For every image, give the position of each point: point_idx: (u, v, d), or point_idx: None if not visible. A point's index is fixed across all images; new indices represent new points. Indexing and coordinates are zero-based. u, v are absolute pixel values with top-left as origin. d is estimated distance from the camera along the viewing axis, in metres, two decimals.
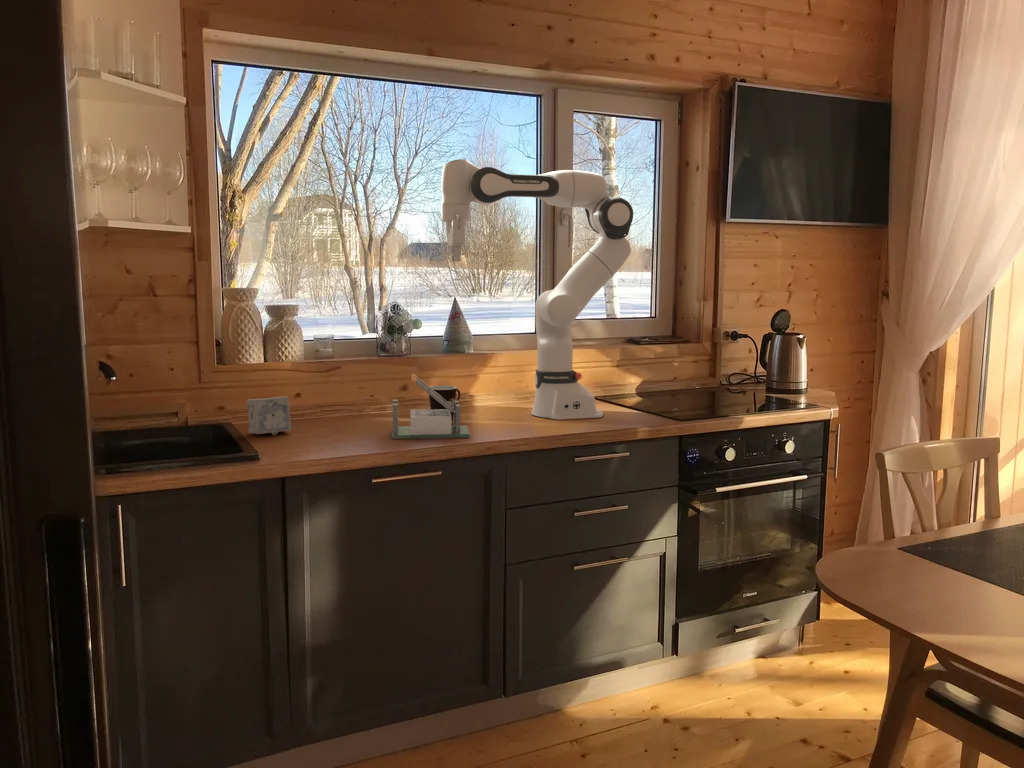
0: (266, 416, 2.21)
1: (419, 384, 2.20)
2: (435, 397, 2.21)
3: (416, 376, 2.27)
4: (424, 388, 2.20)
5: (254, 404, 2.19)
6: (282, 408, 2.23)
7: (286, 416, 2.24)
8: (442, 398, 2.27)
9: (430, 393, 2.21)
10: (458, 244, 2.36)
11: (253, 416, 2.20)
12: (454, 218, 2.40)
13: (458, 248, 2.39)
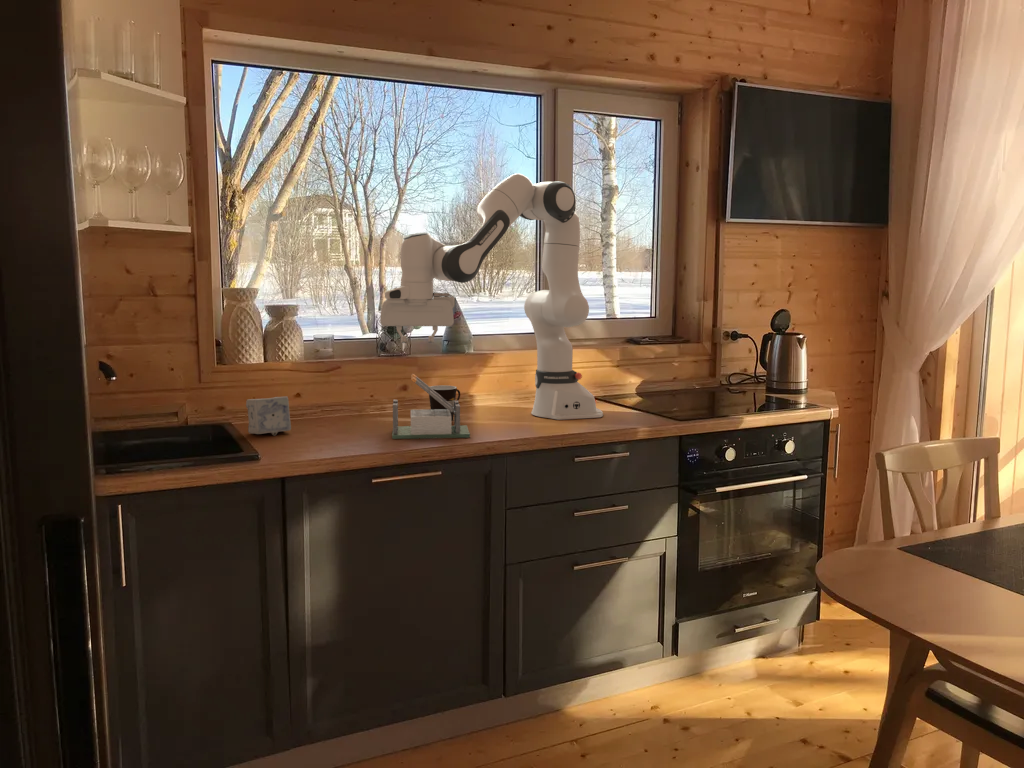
0: (266, 416, 2.21)
1: (419, 384, 2.20)
2: (435, 397, 2.21)
3: (416, 376, 2.27)
4: (424, 388, 2.20)
5: (254, 404, 2.19)
6: (282, 408, 2.23)
7: (286, 416, 2.24)
8: (442, 398, 2.27)
9: (430, 393, 2.21)
10: None
11: (253, 416, 2.20)
12: (432, 297, 2.23)
13: None
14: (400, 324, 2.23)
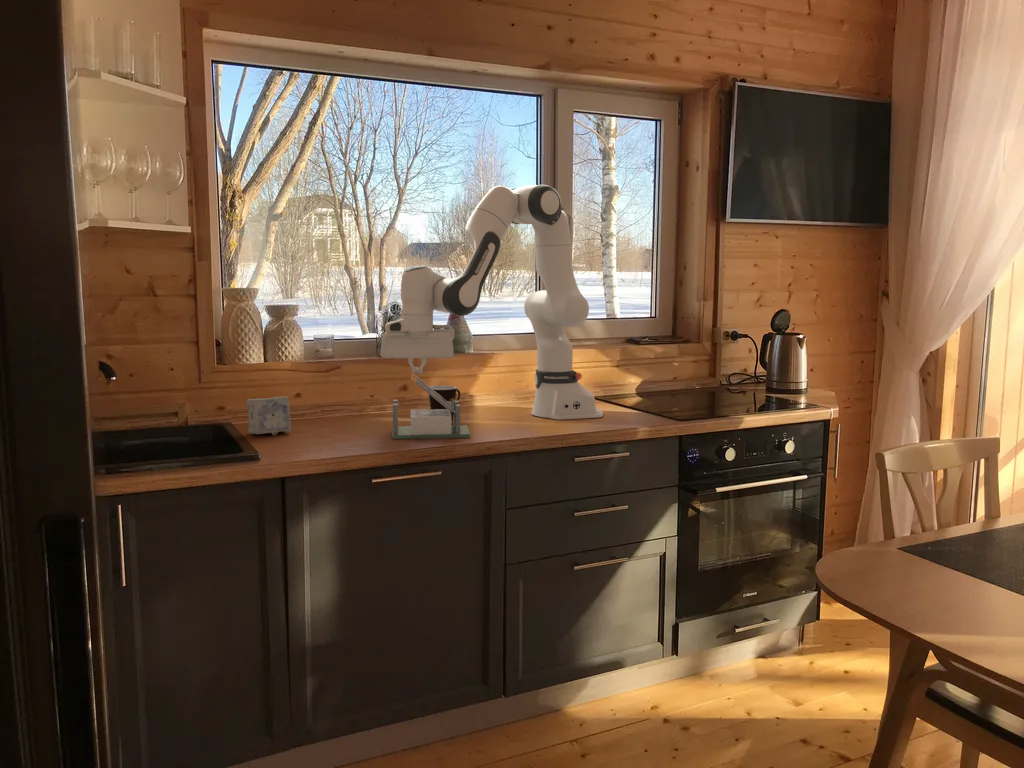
0: (266, 416, 2.21)
1: (419, 384, 2.20)
2: (435, 397, 2.21)
3: (416, 376, 2.27)
4: (424, 388, 2.20)
5: (254, 404, 2.19)
6: (282, 408, 2.23)
7: (286, 416, 2.24)
8: (442, 398, 2.27)
9: (430, 393, 2.21)
10: None
11: (253, 416, 2.20)
12: (432, 329, 2.25)
13: None
14: (400, 356, 2.24)
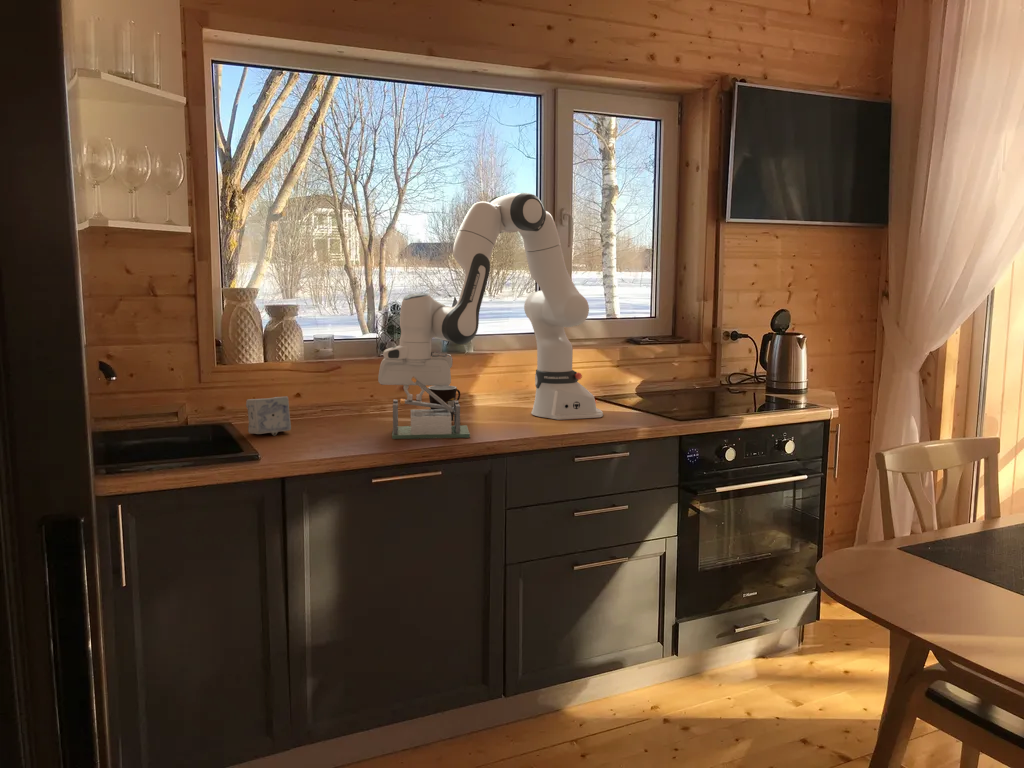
0: (266, 416, 2.21)
1: (419, 384, 2.20)
2: (435, 397, 2.21)
3: (405, 399, 2.28)
4: (424, 388, 2.20)
5: (254, 404, 2.19)
6: (282, 408, 2.23)
7: (286, 416, 2.24)
8: (438, 405, 2.28)
9: (430, 393, 2.21)
10: None
11: (253, 416, 2.20)
12: (430, 356, 2.26)
13: None
14: (398, 383, 2.25)
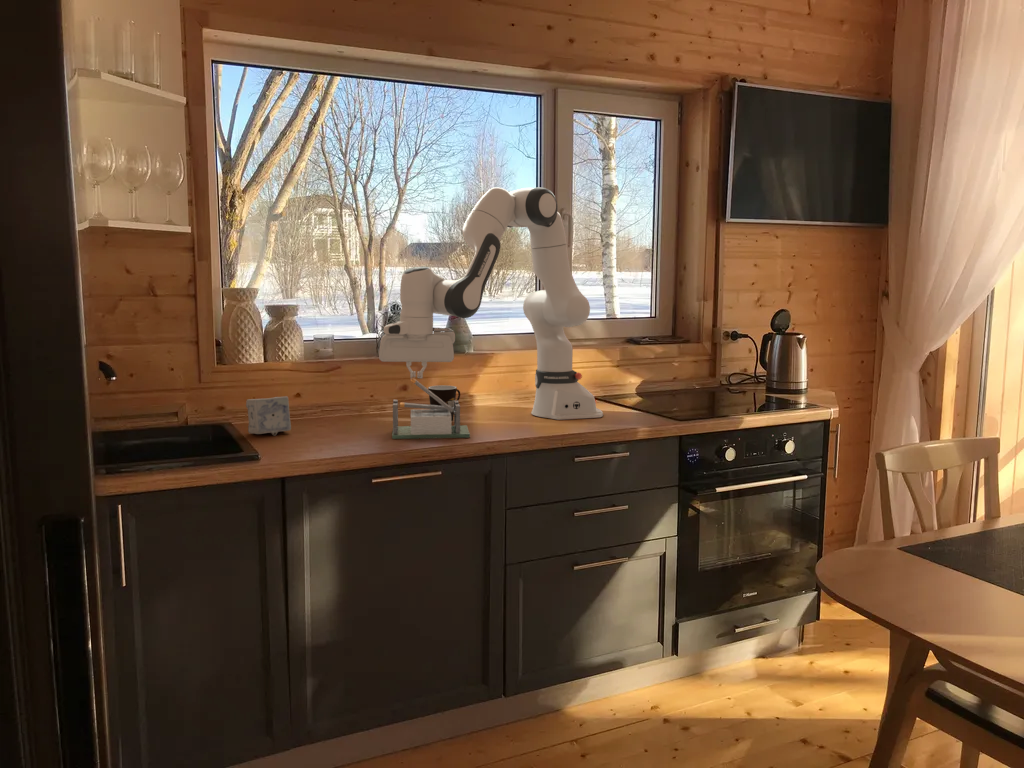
0: (266, 416, 2.21)
1: (418, 385, 2.20)
2: (435, 397, 2.21)
3: (404, 403, 2.28)
4: (424, 389, 2.20)
5: (254, 404, 2.19)
6: (282, 408, 2.23)
7: (286, 416, 2.24)
8: (438, 406, 2.28)
9: (430, 393, 2.21)
10: None
11: (253, 416, 2.20)
12: (432, 332, 2.19)
13: None
14: (399, 360, 2.18)
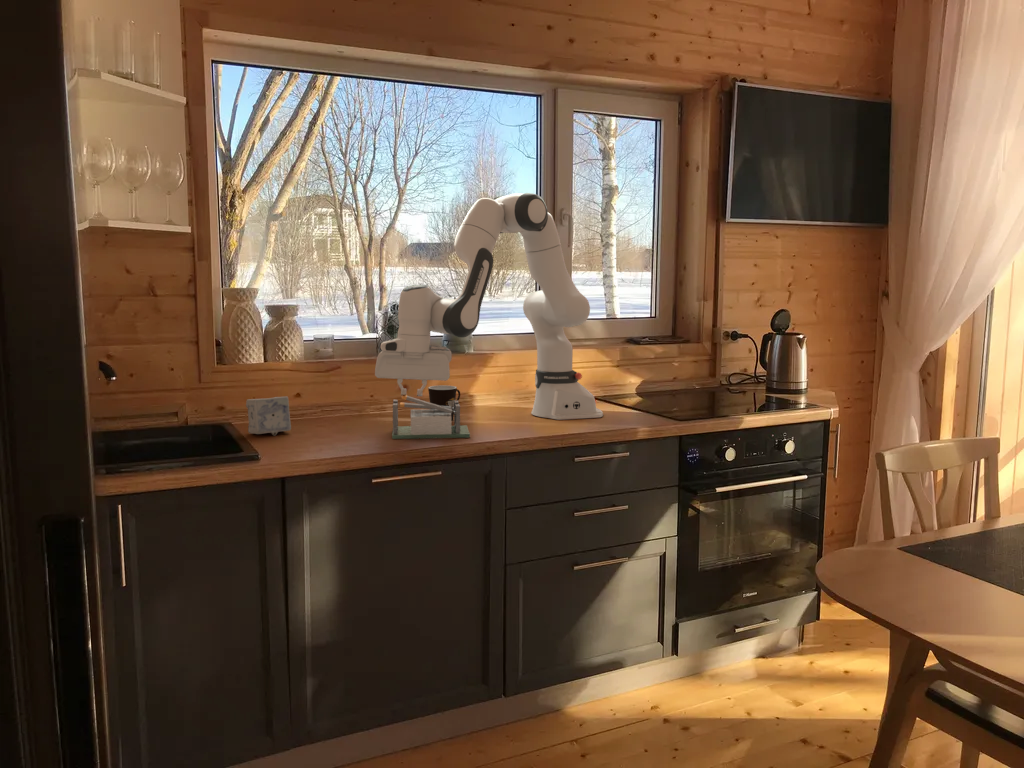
0: (266, 416, 2.21)
1: (411, 399, 2.20)
2: (430, 405, 2.21)
3: (404, 403, 2.28)
4: (417, 401, 2.21)
5: (254, 404, 2.19)
6: (282, 408, 2.23)
7: (286, 416, 2.24)
8: None
9: (424, 403, 2.21)
10: None
11: (253, 416, 2.20)
12: (429, 350, 2.20)
13: None
14: (395, 376, 2.18)
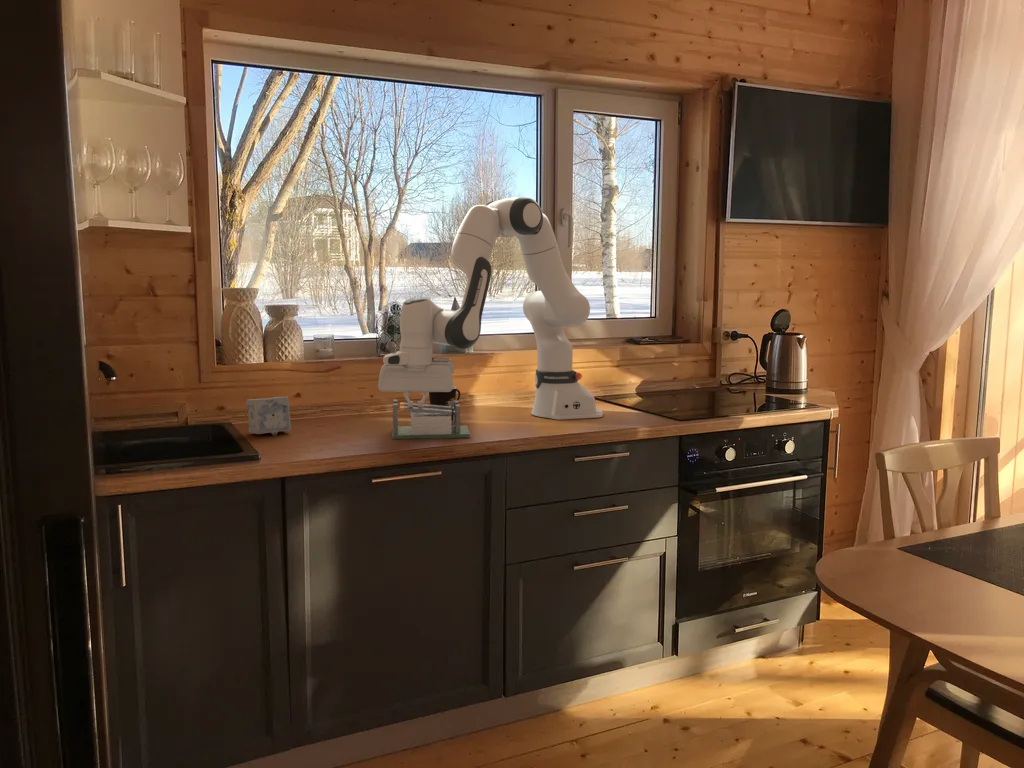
0: (266, 416, 2.21)
1: (409, 409, 2.21)
2: (429, 411, 2.22)
3: (404, 403, 2.28)
4: (415, 409, 2.21)
5: (254, 404, 2.19)
6: (282, 408, 2.23)
7: (286, 416, 2.24)
8: (438, 406, 2.28)
9: (423, 410, 2.21)
10: None
11: (253, 416, 2.20)
12: None
13: None
14: (398, 389, 2.19)
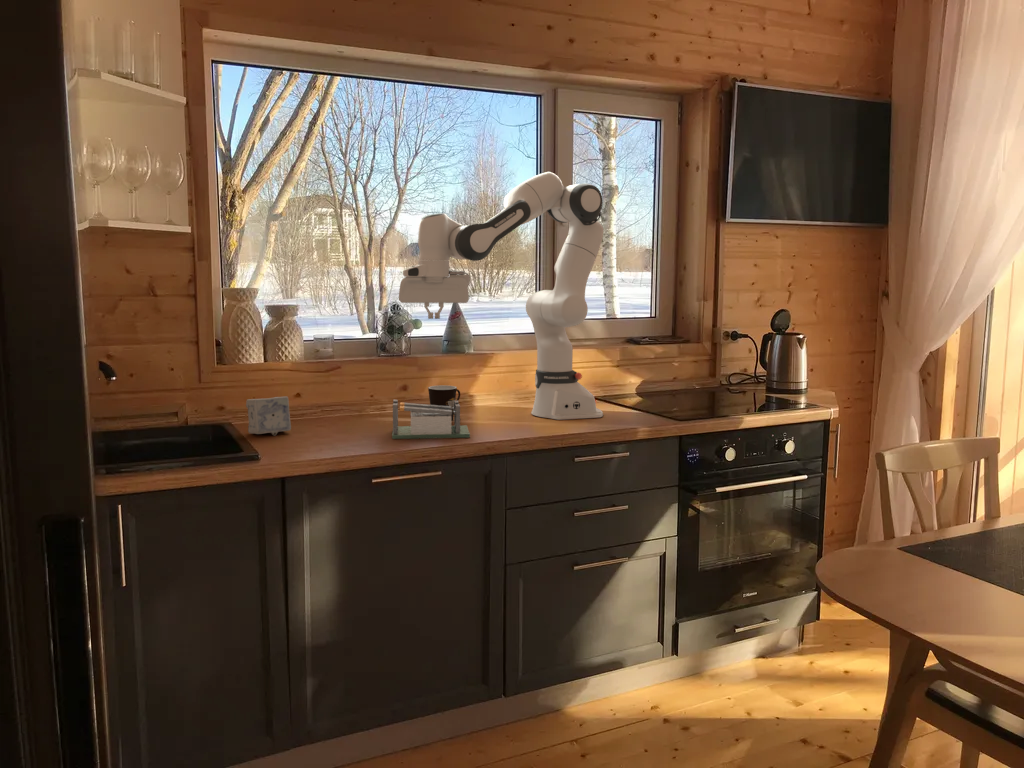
0: (266, 416, 2.21)
1: (409, 409, 2.21)
2: (429, 411, 2.22)
3: (404, 403, 2.28)
4: (415, 410, 2.21)
5: (255, 404, 2.19)
6: (282, 408, 2.23)
7: (286, 416, 2.24)
8: (438, 406, 2.28)
9: (423, 410, 2.21)
10: None
11: (253, 416, 2.20)
12: (448, 275, 2.34)
13: None
14: (418, 301, 2.33)
